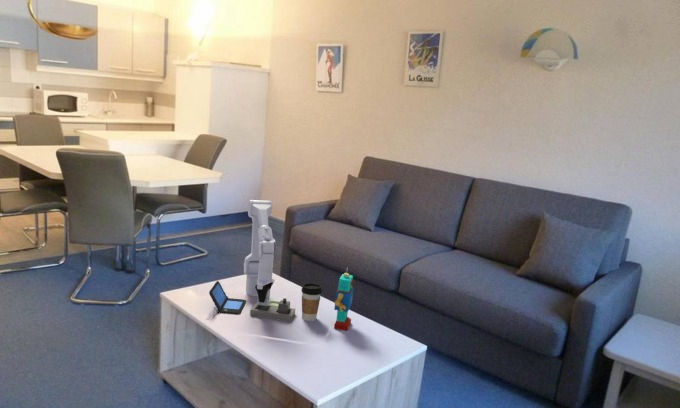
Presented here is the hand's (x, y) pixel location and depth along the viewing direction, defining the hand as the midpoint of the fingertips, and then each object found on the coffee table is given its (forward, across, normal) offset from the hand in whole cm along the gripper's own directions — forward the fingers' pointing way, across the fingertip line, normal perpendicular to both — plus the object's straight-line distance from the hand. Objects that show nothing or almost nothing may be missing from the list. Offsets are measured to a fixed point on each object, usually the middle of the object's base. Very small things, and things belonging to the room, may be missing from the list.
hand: (263, 300), depth 217 cm
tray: (+6, +9, -4) cm, 12 cm away
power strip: (+6, 0, -4) cm, 8 cm away
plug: (+1, 0, 0) cm, 1 cm away
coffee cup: (+6, +2, -20) cm, 21 cm away
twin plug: (+6, 0, -9) cm, 11 cm away
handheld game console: (+7, +2, +16) cm, 17 cm away
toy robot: (+6, +1, -34) cm, 34 cm away
